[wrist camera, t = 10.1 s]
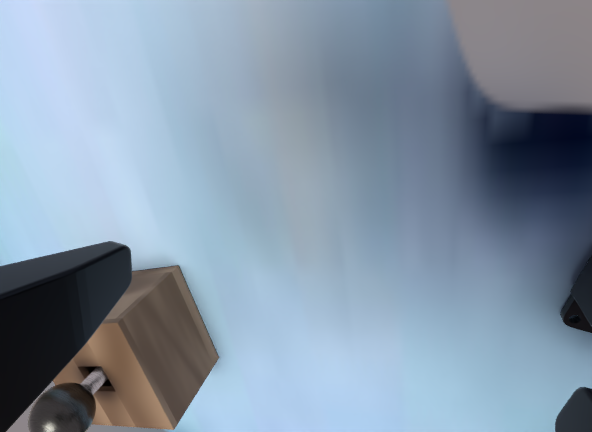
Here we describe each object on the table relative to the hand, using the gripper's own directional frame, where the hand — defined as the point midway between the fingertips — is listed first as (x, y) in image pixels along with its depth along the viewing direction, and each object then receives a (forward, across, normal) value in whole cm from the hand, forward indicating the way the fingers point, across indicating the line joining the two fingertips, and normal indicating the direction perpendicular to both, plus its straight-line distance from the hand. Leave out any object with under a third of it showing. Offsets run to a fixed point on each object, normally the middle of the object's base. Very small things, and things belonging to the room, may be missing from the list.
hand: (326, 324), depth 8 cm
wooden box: (+13, +13, +16) cm, 24 cm away
